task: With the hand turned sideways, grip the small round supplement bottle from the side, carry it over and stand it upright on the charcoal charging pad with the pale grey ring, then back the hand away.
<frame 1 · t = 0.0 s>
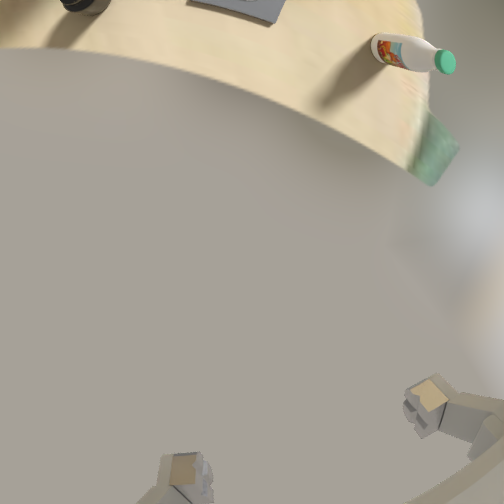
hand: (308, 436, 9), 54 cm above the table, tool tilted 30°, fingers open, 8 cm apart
milk bottle: (383, 47, 45), on the table
supplement bottle: (95, 0, 29), on the table
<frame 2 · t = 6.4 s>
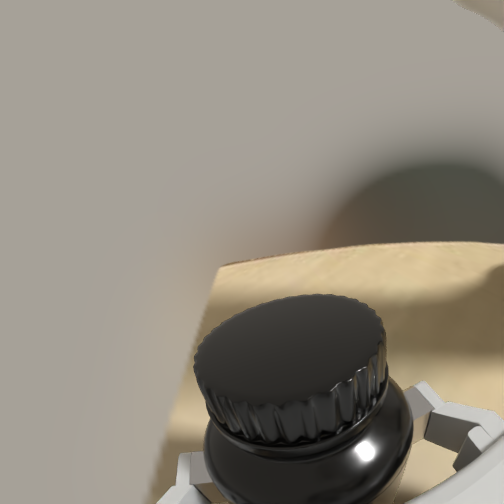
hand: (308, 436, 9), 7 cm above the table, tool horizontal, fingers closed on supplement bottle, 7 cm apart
when the fingers open (9 cm above the table, at t = 13.1 s): supplement bottle drops 1 cm, resting on charging pad.
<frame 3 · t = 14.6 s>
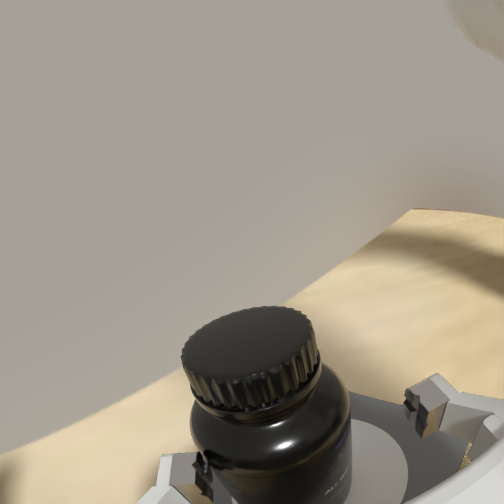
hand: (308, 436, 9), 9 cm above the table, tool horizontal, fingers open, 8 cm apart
charging pad: (320, 488, 13), on the table
supplement bottle: (296, 488, 13), point 1 cm above the table, touching charging pad, gripper
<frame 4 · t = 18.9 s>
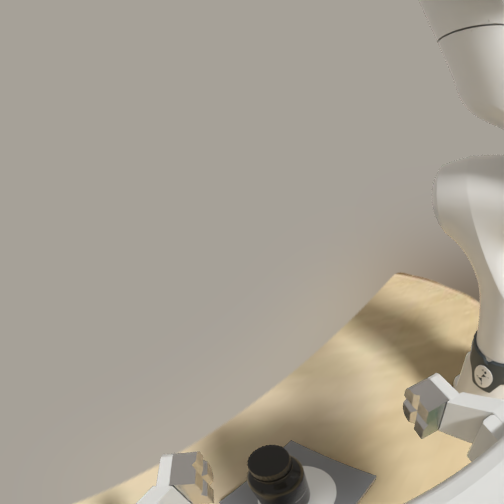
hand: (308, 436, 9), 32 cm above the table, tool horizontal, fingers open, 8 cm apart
charging pad: (298, 498, 28), on the table
supplement bottle: (286, 498, 28), point 1 cm above the table, touching charging pad
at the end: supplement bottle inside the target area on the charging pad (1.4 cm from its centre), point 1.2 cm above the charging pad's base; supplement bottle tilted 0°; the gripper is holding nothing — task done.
